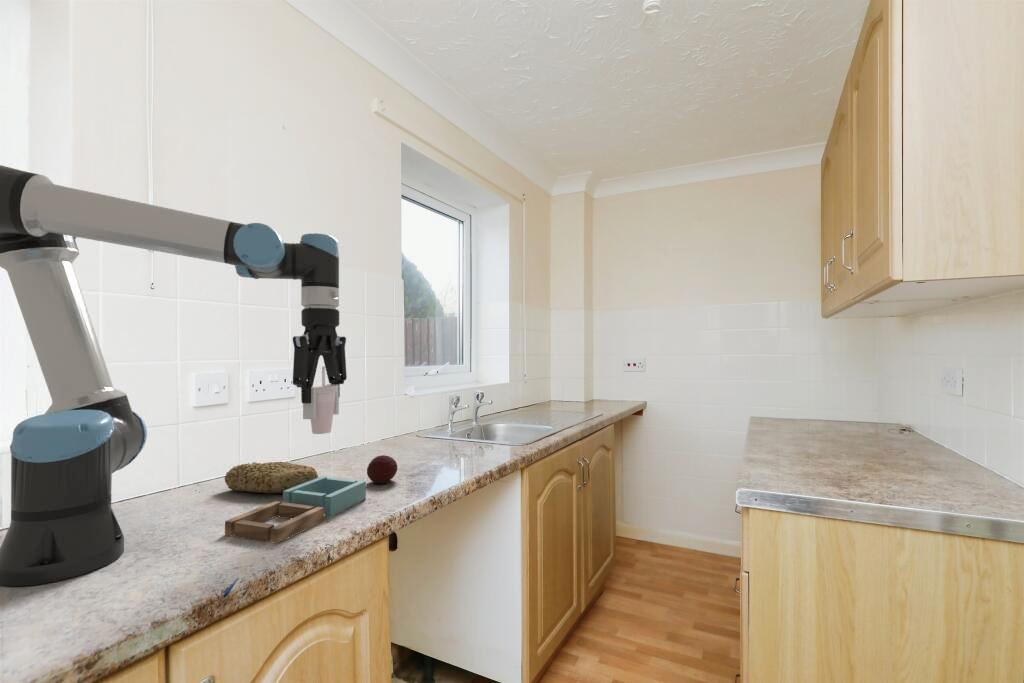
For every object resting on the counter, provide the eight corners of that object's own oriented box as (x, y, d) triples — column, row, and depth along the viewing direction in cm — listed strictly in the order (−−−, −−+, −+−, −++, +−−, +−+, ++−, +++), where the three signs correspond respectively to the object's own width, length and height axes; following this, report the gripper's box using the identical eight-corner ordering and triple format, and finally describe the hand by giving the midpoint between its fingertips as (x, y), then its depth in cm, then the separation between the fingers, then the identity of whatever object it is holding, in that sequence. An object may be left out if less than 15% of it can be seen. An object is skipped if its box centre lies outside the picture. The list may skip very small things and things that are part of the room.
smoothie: (344, 431, 104) (343, 366, 104) (317, 436, 99) (316, 367, 99) (325, 428, 107) (325, 365, 108) (299, 433, 102) (298, 367, 102)
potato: (401, 478, 127) (401, 451, 127) (391, 487, 118) (391, 458, 119) (374, 477, 127) (374, 450, 128) (362, 486, 119) (362, 458, 119)
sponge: (218, 500, 112) (281, 492, 105) (219, 465, 114) (282, 455, 107) (267, 494, 124) (326, 487, 117) (267, 463, 126) (326, 454, 119)
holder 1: (277, 543, 85) (277, 529, 85) (224, 534, 88) (225, 521, 88) (324, 520, 96) (324, 507, 96) (275, 513, 100) (275, 501, 100)
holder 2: (330, 516, 98) (330, 496, 98) (282, 510, 102) (283, 491, 102) (365, 498, 109) (365, 481, 109) (321, 493, 113) (321, 476, 113)
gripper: (301, 304, 93) (302, 424, 93) (363, 310, 111) (364, 410, 111) (270, 305, 95) (271, 422, 95) (336, 311, 113) (337, 409, 113)
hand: (321, 416), depth 103 cm, fingers closed on smoothie, 6 cm apart
